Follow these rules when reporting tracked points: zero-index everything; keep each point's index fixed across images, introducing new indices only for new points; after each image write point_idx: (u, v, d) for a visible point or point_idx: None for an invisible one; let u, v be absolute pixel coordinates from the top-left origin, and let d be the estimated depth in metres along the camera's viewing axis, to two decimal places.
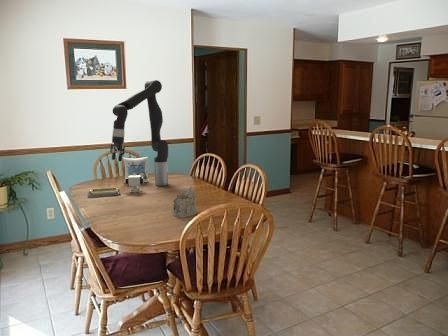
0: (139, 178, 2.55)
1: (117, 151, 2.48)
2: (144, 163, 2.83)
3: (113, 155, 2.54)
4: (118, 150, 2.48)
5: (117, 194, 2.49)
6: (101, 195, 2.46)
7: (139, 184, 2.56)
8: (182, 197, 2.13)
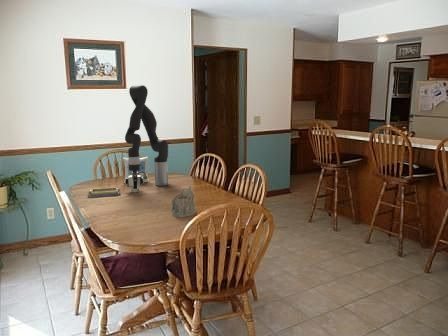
0: (139, 178, 2.55)
1: (132, 179, 2.55)
2: (144, 163, 2.83)
3: None
4: (133, 178, 2.54)
5: (117, 194, 2.49)
6: (101, 195, 2.46)
7: (139, 184, 2.56)
8: (181, 197, 2.13)
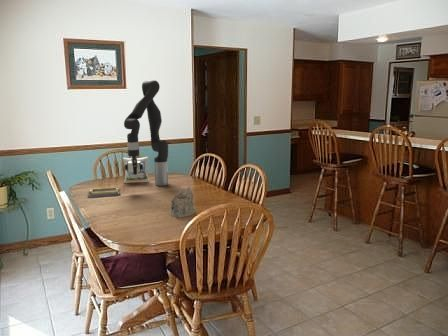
0: (139, 164, 2.53)
1: (132, 164, 2.53)
2: (144, 163, 2.83)
3: None
4: (132, 164, 2.53)
5: (117, 194, 2.49)
6: (101, 195, 2.46)
7: (139, 170, 2.54)
8: (180, 197, 2.13)
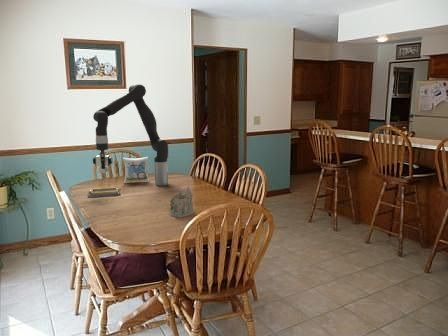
0: (107, 158, 2.46)
1: (100, 158, 2.46)
2: (144, 163, 2.83)
3: None
4: None
5: (117, 194, 2.49)
6: (101, 195, 2.46)
7: (107, 164, 2.47)
8: (179, 197, 2.13)
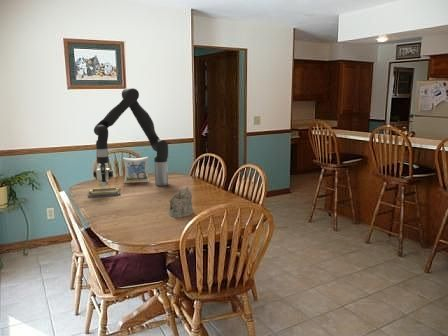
0: (107, 171, 2.48)
1: None
2: (144, 163, 2.83)
3: None
4: None
5: (117, 194, 2.49)
6: (101, 195, 2.46)
7: (107, 177, 2.49)
8: (178, 197, 2.13)
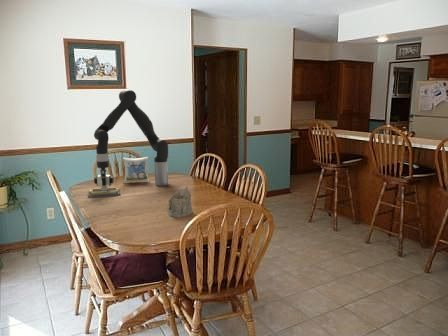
0: (108, 177, 2.49)
1: None
2: (144, 163, 2.83)
3: None
4: None
5: (117, 194, 2.49)
6: (101, 195, 2.46)
7: (108, 184, 2.50)
8: (178, 197, 2.13)
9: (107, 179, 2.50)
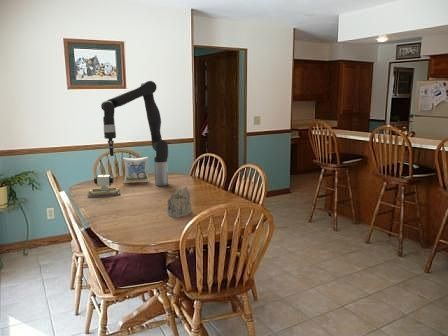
0: (108, 178, 2.49)
1: (108, 146, 2.54)
2: (144, 163, 2.83)
3: None
4: (109, 145, 2.53)
5: (117, 194, 2.49)
6: (101, 195, 2.46)
7: (108, 184, 2.50)
8: (177, 197, 2.13)
9: (107, 179, 2.49)
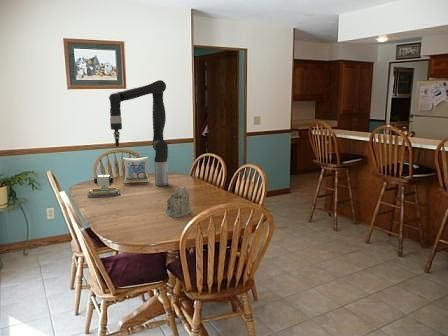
0: (108, 178, 2.49)
1: (114, 137, 2.60)
2: (144, 163, 2.83)
3: (116, 141, 2.68)
4: None
5: (117, 194, 2.49)
6: (101, 195, 2.46)
7: (108, 184, 2.50)
8: (176, 197, 2.13)
9: (107, 179, 2.49)
